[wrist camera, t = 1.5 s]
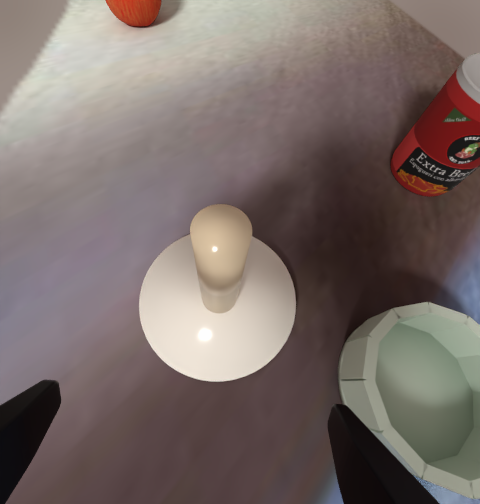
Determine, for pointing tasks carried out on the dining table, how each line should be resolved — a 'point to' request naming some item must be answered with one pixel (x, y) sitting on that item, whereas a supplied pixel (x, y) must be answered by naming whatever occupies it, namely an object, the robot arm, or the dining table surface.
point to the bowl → (419, 390)
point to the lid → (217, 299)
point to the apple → (135, 11)
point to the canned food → (443, 136)
